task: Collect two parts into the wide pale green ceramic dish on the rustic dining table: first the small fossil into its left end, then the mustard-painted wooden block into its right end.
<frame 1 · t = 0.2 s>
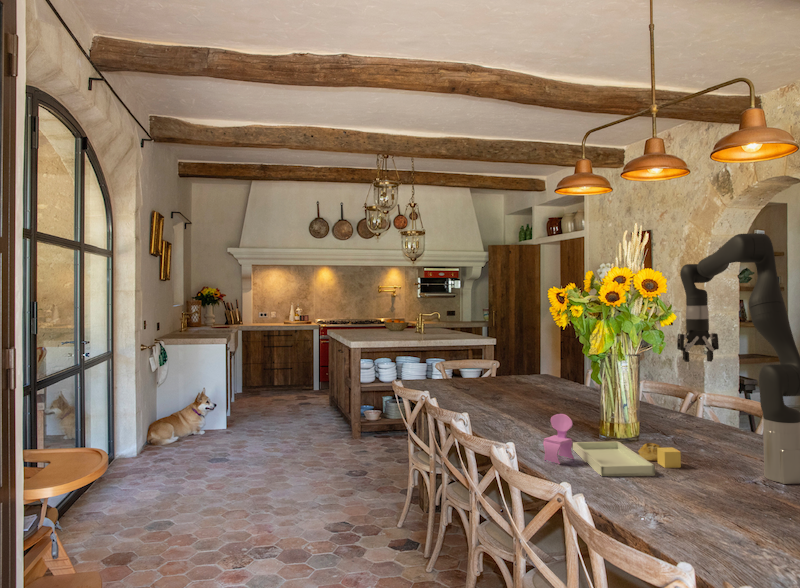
hand: (698, 361, 208), 29 cm above the table, fingers open, 8 cm apart
fossil: (653, 458, 187), on the table
tray: (610, 462, 182), on the table
block: (669, 465, 178), on the table
toy chair: (558, 461, 185), on the table
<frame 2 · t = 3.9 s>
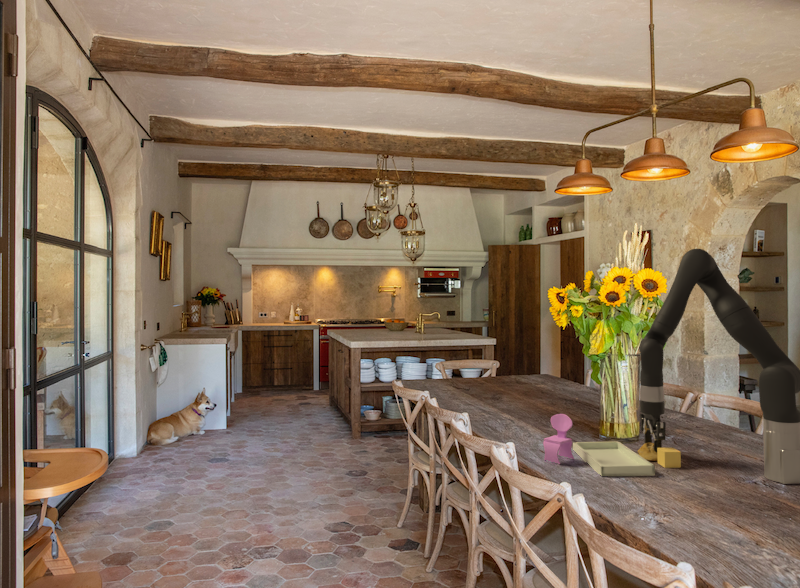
hand: (652, 448, 187), 3 cm above the table, fingers closed on fossil, 6 cm apart
fossil: (652, 458, 187), on the table, touching gripper
everything else where it was.
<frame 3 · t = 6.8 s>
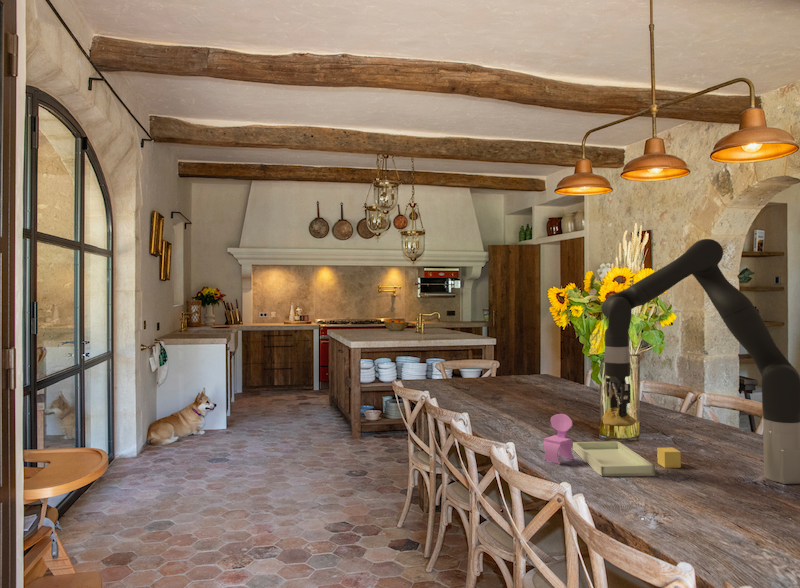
hand: (618, 413, 176), 17 cm above the table, fingers closed on fossil, 6 cm apart
fossil: (618, 424, 175), point 14 cm above the table, touching gripper
everything else where it was.
when the fingers open (4 cm above the table, at t = 9.7 s): fossil stays where it is, resting on tray.
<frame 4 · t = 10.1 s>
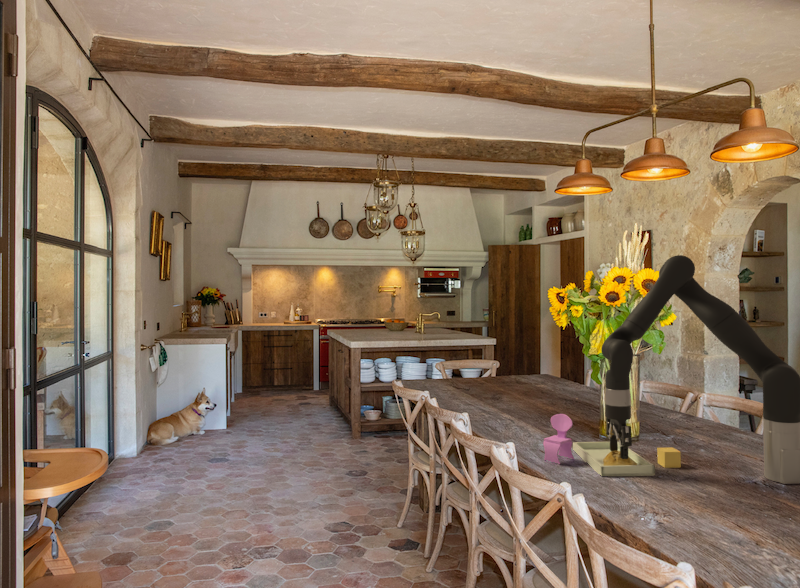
hand: (618, 454, 175), 4 cm above the table, fingers open, 8 cm apart
fossil: (618, 467, 175), point 1 cm above the table, touching tray
everything else where it was.
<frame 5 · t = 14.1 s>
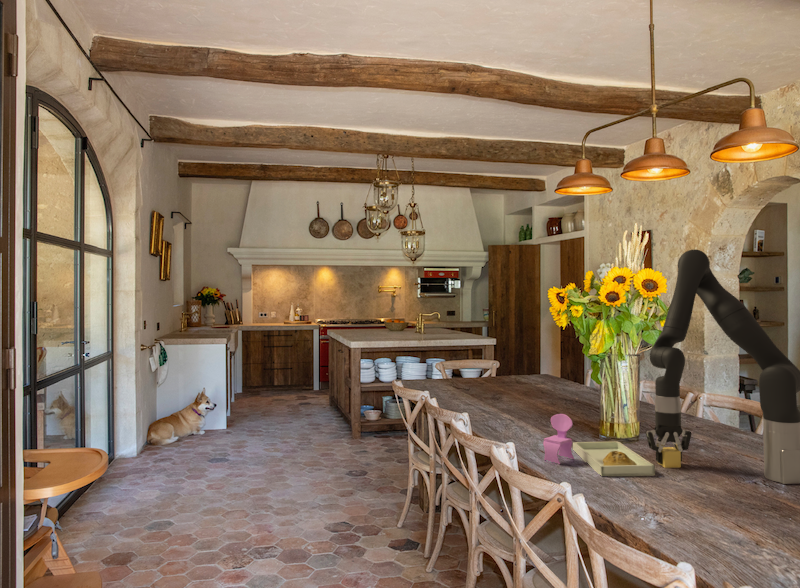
hand: (668, 462, 178), 1 cm above the table, fingers closed on block, 5 cm apart
block: (669, 465, 178), on the table, touching gripper
everything else where it was.
when the fingers open (3 cm above the table, at t = 19.3 s): block drops 1 cm, resting on tray.
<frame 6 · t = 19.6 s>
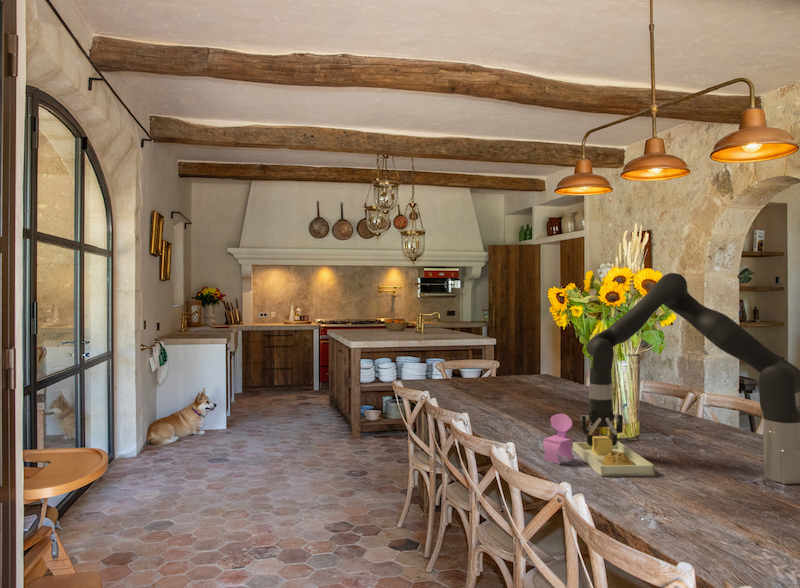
hand: (601, 445, 190), 3 cm above the table, fingers open, 7 cm apart
block: (602, 452, 190), point 1 cm above the table, touching tray
everything else where it was.
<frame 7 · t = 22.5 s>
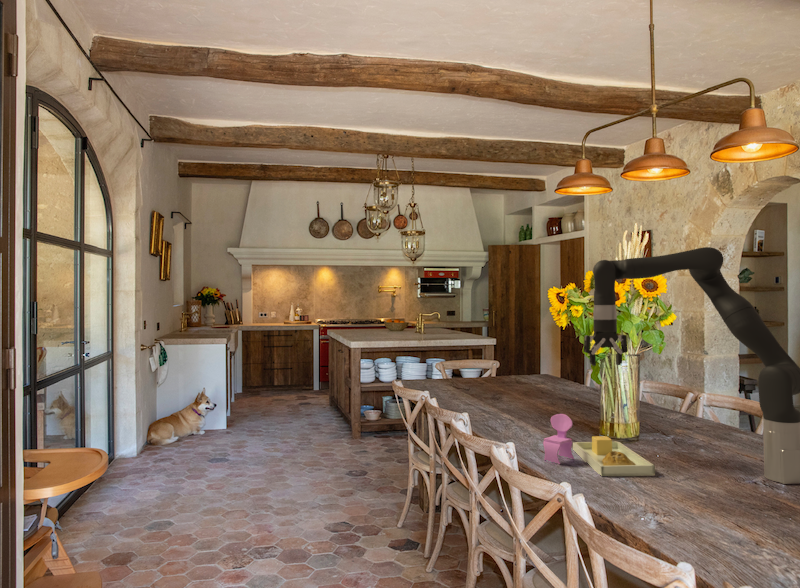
hand: (605, 365, 193), 30 cm above the table, fingers open, 8 cm apart
nothing on the table moved.
at the end: fossil inside the target area on the tray (8.3 cm from its centre), point 0.6 cm above the tray's base; block inside the target area on the tray (8.0 cm from its centre), point 0.8 cm above the tray's base; the gripper is holding nothing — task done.
